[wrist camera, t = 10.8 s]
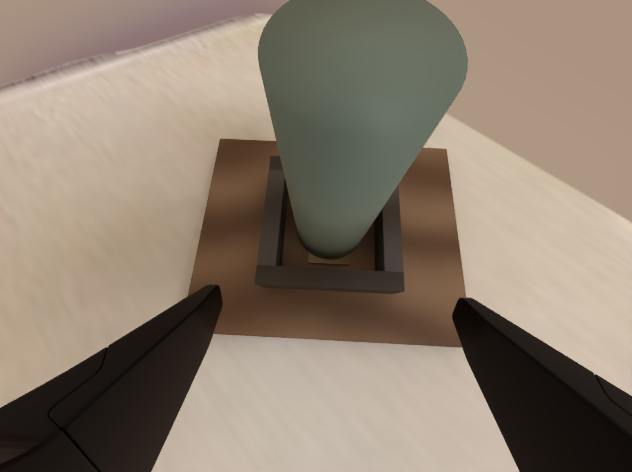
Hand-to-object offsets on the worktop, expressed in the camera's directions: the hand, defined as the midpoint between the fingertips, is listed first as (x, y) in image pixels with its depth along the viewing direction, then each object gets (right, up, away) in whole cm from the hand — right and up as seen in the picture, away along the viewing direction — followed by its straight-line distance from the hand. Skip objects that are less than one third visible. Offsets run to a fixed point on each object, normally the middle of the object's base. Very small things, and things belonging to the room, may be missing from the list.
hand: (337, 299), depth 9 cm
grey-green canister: (0, +3, +9) cm, 10 cm away
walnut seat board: (0, +2, +11) cm, 11 cm away
